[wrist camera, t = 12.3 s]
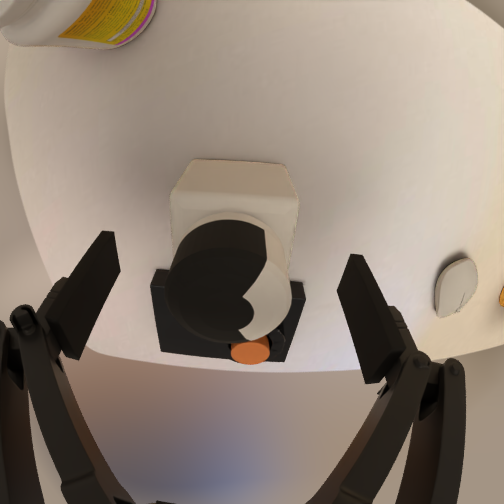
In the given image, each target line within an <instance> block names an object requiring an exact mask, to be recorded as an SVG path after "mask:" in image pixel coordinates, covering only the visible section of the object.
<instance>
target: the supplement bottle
mask: <svg viewBox="0 0 504 504" xmlns="http://www.w3.org/2000/svg"><path fill="white" fill-rule="evenodd" d="M155 8H156V0H0V30H1V33H2V34H3V36H4V37H5V39H6V40H8V41H9V42H10V43H12V44H14V45H17V46H60V47H78V48H89V49H113V48H116V47H119V46H122V45H124V44H126V43H128V42H130V41H131V40H133V39H134V38H135V37H137V36H138V35H139V34H140V33H141V32H142V31H143V30H144V29H145V28H146V26H147V25H148V24H149V22H150V20H151V19H152V17H153V14H154V12H155Z"/></svg>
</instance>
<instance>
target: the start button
mask: <svg viewBox="0 0 504 504" xmlns="http://www.w3.org/2000/svg"><path fill="white" fill-rule="evenodd" d="M269 354H270V350H269V339H268V337H267V336H266V335H265V336H263V337H260V338H258V339H255V340H252V341H248V342H244V343H231V356H232V358H233V359H234V360H235V361H237V362H239V363H242V364H248V365H252V364H258V363H261V362H263V361H265V360H266V359H267V358H268V357H269Z"/></svg>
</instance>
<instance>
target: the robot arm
mask: <svg viewBox="0 0 504 504" xmlns="http://www.w3.org/2000/svg"><path fill="white" fill-rule="evenodd" d="M120 272H121V270H120V265H119V259H118V254H117V248H116V241H115V235H114V232H112V231H102V232H101V233H100V234H99V236H98V237H97V238H96V240H95V241H94V242H93V244H92V245H91V246H90V248H89V249H88V250H87V252H86V253H85V255H84V256H83V257H82V259H81V260H80V262H79V263H78V264H77V266H76V267H75V269H74V270H73V272H72V273H71V275H70V276H69V278H66V277H62V278H61V279H60V280H58V281H57V282H56V283H55V284H54V286H53V287H52V289H51V290H50V292H49V293H48V295H47V298H45V300H44V301H43V303H42V304H41V306H40V308H39V309H38V311H37V312H36V313H35V311H34V309H33V307H32V306H30V305H26V304H25V305H20V306H18V307H17V308H15V310H14V311H12V313H11V315H10V321H11V323H12V325H13V327H14V328H7V327H6V326H5V324H4V322H2V321H1V320H0V504H45V503H44V498H43V494H42V490H41V486H40V482H39V477H38V473H37V468H36V462H35V457H34V450H33V444H32V437H31V427H30V416H29V400H28V390H29V393H30V397H31V401H32V404H33V408H34V411H35V414H36V417H37V420H38V423H39V426H40V429H41V432H42V435H43V437H44V440H45V443H46V445H47V448H48V450H49V453H50V455H51V458H52V460H53V462H54V464H55V467H56V469H57V471H58V473H59V475H60V478H61V480H62V484H61V491H62V493H63V496H64V498H65V500H66V501H67V503H68V504H136V503H135V502H134V501H133V499H132V498H131V496H130V495H129V494H128V492H127V491H126V490H125V489H124V488H123V487H122V486H121V485H120V483H119V482H118V480H117V479H116V477H115V476H114V474H113V472H112V471H111V469H110V467H109V466H108V464H107V462H106V461H105V459H104V457H103V455H102V453H101V452H100V450H99V448H98V446H97V444H96V442H95V440H94V438H93V436H92V434H91V432H90V430H89V428H88V426H87V424H86V422H85V420H84V417H83V415H82V413H81V411H80V408H79V406H78V404H77V401H76V399H75V396H74V394H73V391H72V389H71V386H70V384H69V381H68V378H67V376H66V373H65V371H64V367H63V364H62V361H61V359H60V357H59V354H60V352H61V350H62V351H63V353H64V355H65V356H66V357H68V358H72V359H75V360H79V359H80V357H81V354H82V352H83V350H84V347H85V345H86V343H87V340H88V338H89V336H90V333H91V331H92V329H93V327H94V325H95V322H96V320H97V318H98V316H99V314H100V312H101V309H102V307H103V305H104V303H105V301H106V299H107V297H108V295H109V293H110V291H111V289H112V287H113V285H114V283H115V281H116V279H117V277H118V275H119V273H120ZM337 293H338V296H339V299H340V302H341V305H342V308H343V311H344V314H345V317H346V320H347V324H348V327H349V330H350V333H351V336H352V340H353V343H354V346H355V350H356V353H357V356H358V360H359V363H360V367H361V370H362V374H363V378H364V381H365V384H372V383H379V382H380V381H381V380H382V379H383V377H384V376H385V378H386V381H387V383H386V384H385V385H384V386H383V387H382V388H381V390H380V391H379V392H378V393H377V394H379V396H378V398H377V400H376V402H375V404H374V406H373V407H372V409H371V411H370V413H369V415H368V417H367V418H366V420H365V422H364V424H363V425H362V427H361V429H360V430H359V432H358V434H357V435H356V437H355V438H354V440H353V442H352V443H351V445H350V447H349V448H348V450H347V451H346V453H345V454H344V456H343V457H342V459H341V460H340V461H339V463H338V465H337V466H336V468H335V469H334V470H333V471H332V473H331V474H330V476H329V477H328V478H327V480H326V481H325V483H324V484H323V485H322V486H321V488H320V489H319V490H318V492H317V493H316V494H315V495H314V496H313V497H312V498H311V499H310V500H309V501H308V502H307V503H306V504H372V502H373V499H374V498H375V496H376V494H377V493H378V491H379V490H380V488H381V486H382V484H383V483H384V481H385V479H386V477H387V476H388V474H389V472H390V470H391V468H392V466H393V464H394V462H395V460H396V458H397V456H398V454H399V452H400V450H401V448H402V446H403V443H404V441H405V439H406V437H407V434H408V432H409V430H410V427H411V425H412V423H413V428H412V434H411V440H410V446H409V450H408V455H407V460H406V465H405V469H404V473H403V477H402V482H401V485H400V489H399V493H398V496H397V500H396V503H395V504H457V499H458V494H459V488H460V482H461V475H462V467H463V458H464V445H465V429H466V390H465V371H464V368H463V366H462V364H461V363H460V362H459V361H458V360H456V359H453V358H449V359H447V360H446V361H445V363H444V364H440V363H435V362H431V360H430V358H429V357H428V355H426V354H425V353H424V352H421V351H418V349H417V347H416V345H415V343H414V340H413V338H412V336H411V334H410V332H409V329H407V325H406V323H405V322H404V319H403V317H402V315H401V313H400V312H399V311H398V310H397V309H396V307H395V306H388V305H387V303H386V301H385V298H384V296H383V294H382V292H381V290H380V288H379V286H378V284H377V282H376V280H375V278H374V276H373V274H372V272H371V270H370V268H369V266H368V265H367V263H366V261H365V259H364V257H363V255H358V254H350V257H349V259H348V262H347V265H346V268H345V270H344V273H343V276H342V278H341V281H340V283H339V286H338V289H337ZM413 420H414V421H413ZM151 504H174V503H167V502H161V501H156V503H151Z"/></svg>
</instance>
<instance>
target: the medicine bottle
mask: <svg viewBox="0 0 504 504" xmlns="http://www.w3.org/2000/svg"><path fill="white" fill-rule="evenodd" d="M169 200H170V218H171V232H172V245H173V257H174V259H173V262H172V265H171V268H170V270H169V273H168V276H167V279H166V282H165V287H164V296H165V301H166V304H167V307H168V309H169V311H170V312H171V314H172V315H173V317H174V318H175V319H176V320H177V322H178V323H179V324H180V325H181V326H182V327H184V328H185V329H186V330H187V331H189V332H191V333H192V334H194V335H196V336H198V337H200V338H203V339H206V340H209V341H213V342H218V343H229V344H231V343H244V342H248V341H252V340H255V339H258V338H260V337H263V336H265V335H266V334H268V333H270V332H271V331H272V330H273V329H275V328H276V327H277V326H278V325H279V324H280V323H281V322H282V321H283V320H284V318H285V317H286V315H287V313H288V311H289V309H290V306H291V300H292V294H291V287H290V281H289V275H288V268H289V262H290V257H291V251H292V246H293V240H294V235H295V229H296V223H297V217H298V211H299V205H300V203H299V199H298V197H297V194H296V192H295V189H294V187H293V184H292V182H291V179H290V177H289V174H288V172H287V169H286V167H285V166H284V165H282V164H272V163H259V162H245V161H228V160H204V159H194V160H192V161H191V162H190V164H189V165H188V167H187V168H186V170H185V171H184V173H183V174H182V176H181V177H180V179H179V180H178V182H177V184H176V185H175V187H174V188H173V190H172V191H171V193H170V196H169Z"/></svg>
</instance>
